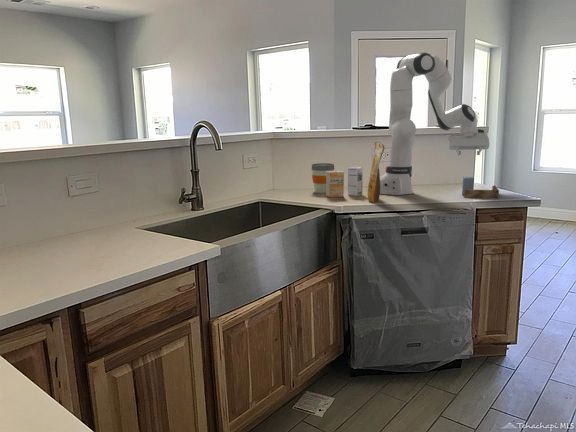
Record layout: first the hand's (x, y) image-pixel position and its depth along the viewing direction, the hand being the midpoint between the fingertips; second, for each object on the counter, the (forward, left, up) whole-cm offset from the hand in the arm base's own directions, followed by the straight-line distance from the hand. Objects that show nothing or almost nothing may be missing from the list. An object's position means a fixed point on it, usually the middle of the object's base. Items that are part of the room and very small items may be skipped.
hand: (468, 154), depth 241 cm
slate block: (0, -12, -20) cm, 23 cm away
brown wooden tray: (+6, -13, -20) cm, 24 cm away
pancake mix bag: (-44, -37, -20) cm, 61 cm away
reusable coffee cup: (-75, -17, -20) cm, 80 cm away
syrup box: (-56, -24, -20) cm, 64 cm away
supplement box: (-65, -32, -20) cm, 76 cm away
